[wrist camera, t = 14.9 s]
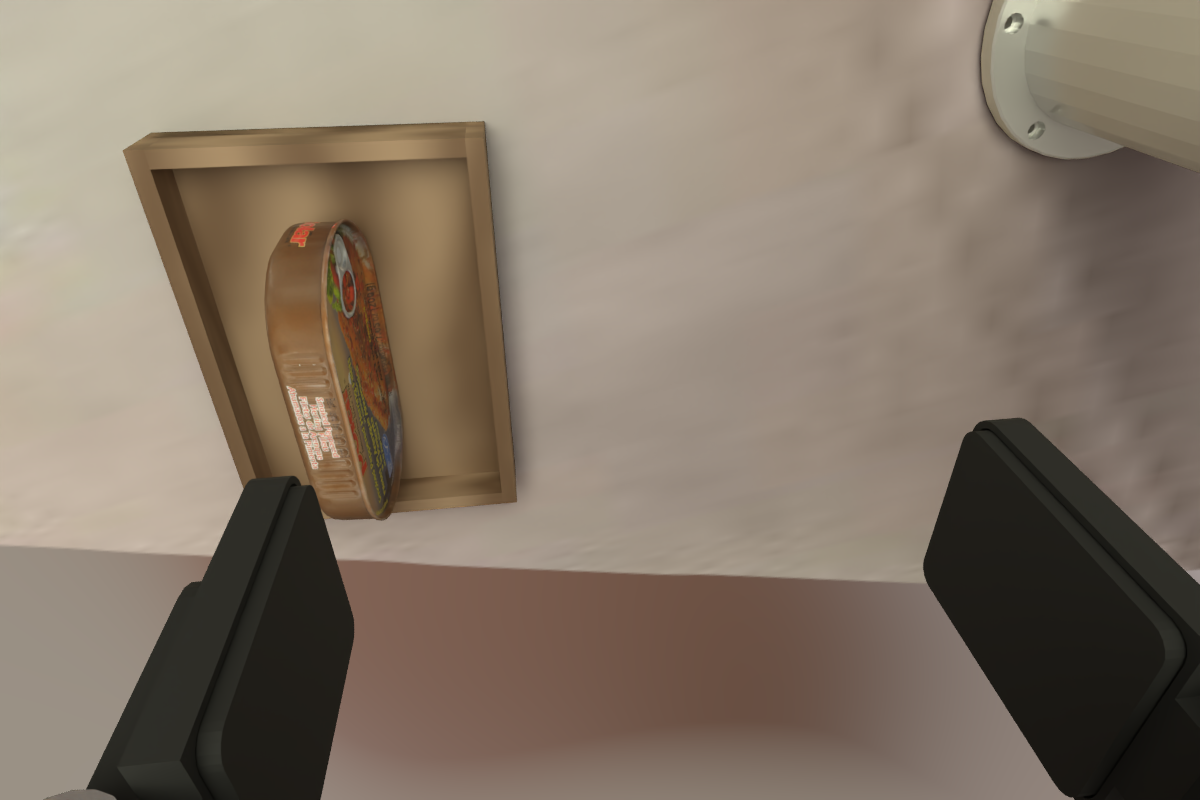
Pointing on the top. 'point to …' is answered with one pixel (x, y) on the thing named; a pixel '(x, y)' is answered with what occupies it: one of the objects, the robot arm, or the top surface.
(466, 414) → the walnut tray
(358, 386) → the tin
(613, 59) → the top surface
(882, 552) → the top surface
